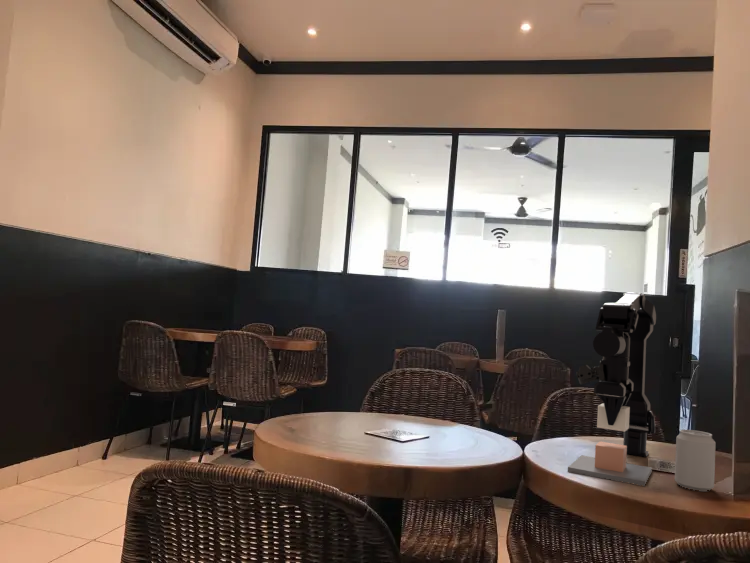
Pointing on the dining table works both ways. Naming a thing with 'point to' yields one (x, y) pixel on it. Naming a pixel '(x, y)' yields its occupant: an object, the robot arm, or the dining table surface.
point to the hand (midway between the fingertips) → (612, 423)
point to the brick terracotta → (610, 456)
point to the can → (695, 460)
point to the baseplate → (611, 471)
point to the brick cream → (620, 422)
